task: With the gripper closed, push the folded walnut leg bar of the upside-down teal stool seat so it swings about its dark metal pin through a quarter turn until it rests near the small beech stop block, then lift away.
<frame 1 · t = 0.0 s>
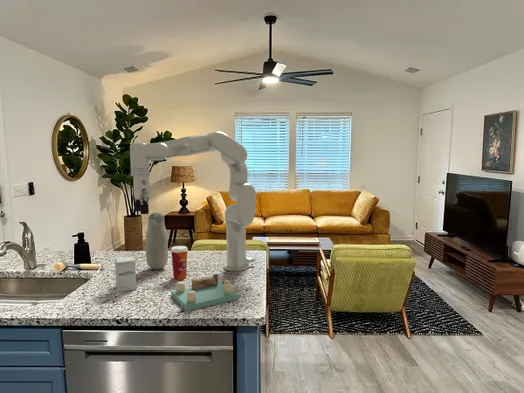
hand: (141, 212, 156), 31 cm above the worktop, fingers open, 9 cm apart
grey ceramic bottle: (157, 269, 181), on the worktop
folding leg: (205, 281, 149), point 4 cm above the worktop, hinge at 0.0°
stool seat: (204, 297, 143), on the worktop
paper cup: (180, 277, 168), on the worktop
supplement box: (126, 288, 153), on the worktop
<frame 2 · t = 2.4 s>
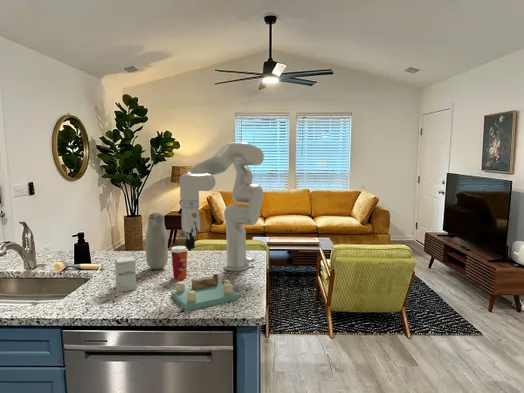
hand: (190, 248, 151), 17 cm above the worktop, fingers closed
nothing on the worktop moved.
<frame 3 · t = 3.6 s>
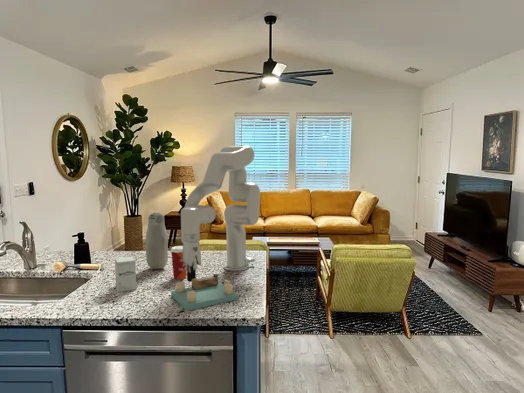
hand: (191, 280, 153), 3 cm above the worktop, fingers closed
nothing on the worktop moved.
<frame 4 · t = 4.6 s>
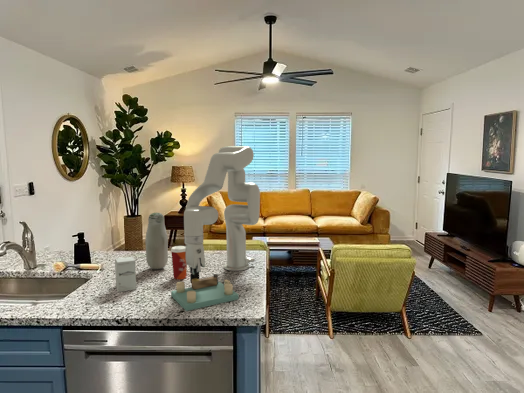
hand: (194, 283, 150), 3 cm above the worktop, fingers closed
folding leg: (205, 281, 149), point 4 cm above the worktop, hinge at 0.2°, touching gripper
everything else where it was.
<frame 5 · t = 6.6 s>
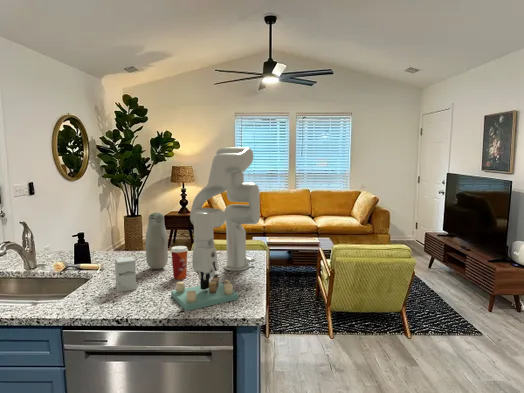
hand: (204, 288, 145), 3 cm above the worktop, fingers closed
folding leg: (214, 283, 147), point 4 cm above the worktop, hinge at 58.3°, touching gripper
everything else where it was.
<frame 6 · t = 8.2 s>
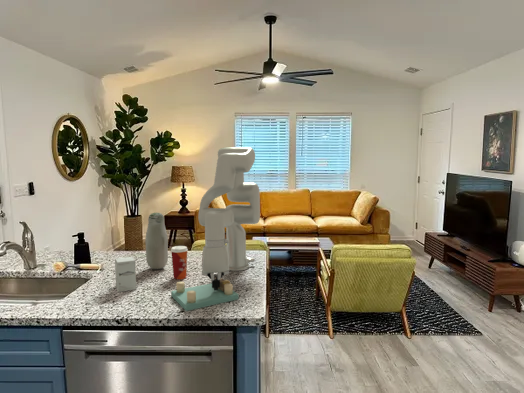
hand: (215, 289, 143), 3 cm above the worktop, fingers closed
folding leg: (220, 282, 148), point 4 cm above the worktop, hinge at 91.4°
everything else where it was.
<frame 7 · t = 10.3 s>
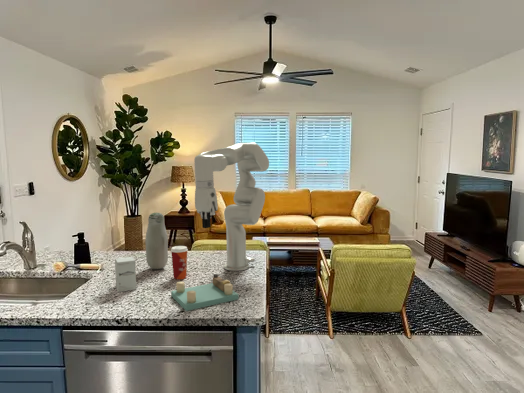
hand: (206, 227, 156), 25 cm above the worktop, fingers closed
nothing on the worktop moved.
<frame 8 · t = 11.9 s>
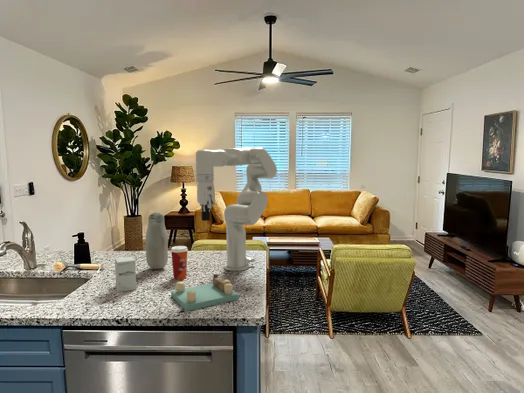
hand: (205, 220, 161), 27 cm above the worktop, fingers closed
nothing on the worktop moved.
at the end: folding leg at +91° (first picture: +0°); the gripper is holding nothing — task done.
